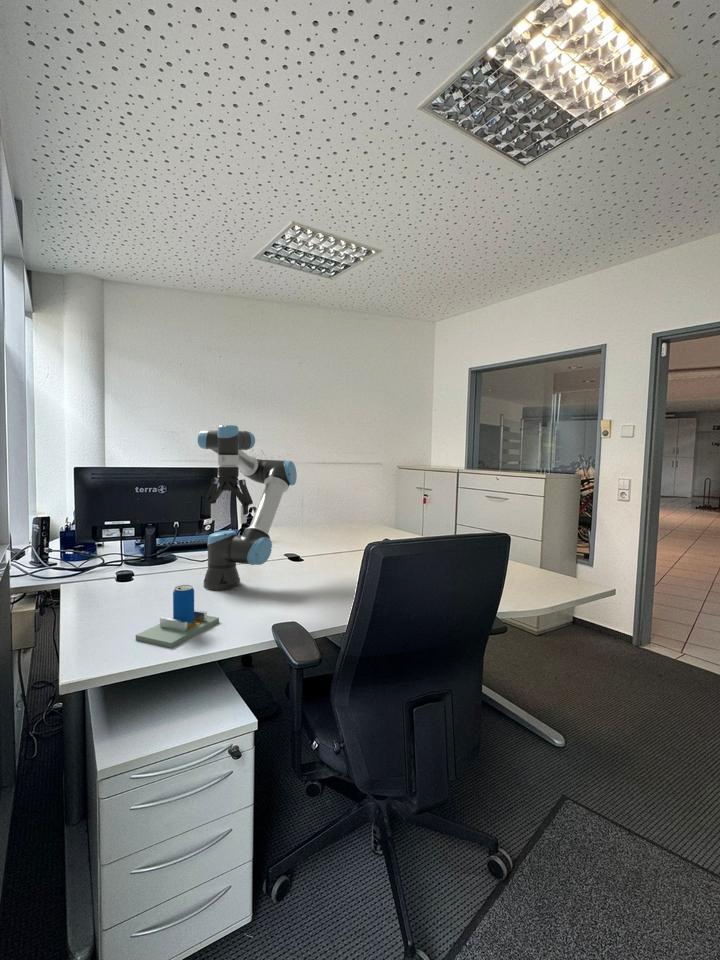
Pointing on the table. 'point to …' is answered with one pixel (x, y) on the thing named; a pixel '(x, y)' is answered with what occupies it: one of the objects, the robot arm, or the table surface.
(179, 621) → the chute bracket
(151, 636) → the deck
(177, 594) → the beverage can
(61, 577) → the table surface
